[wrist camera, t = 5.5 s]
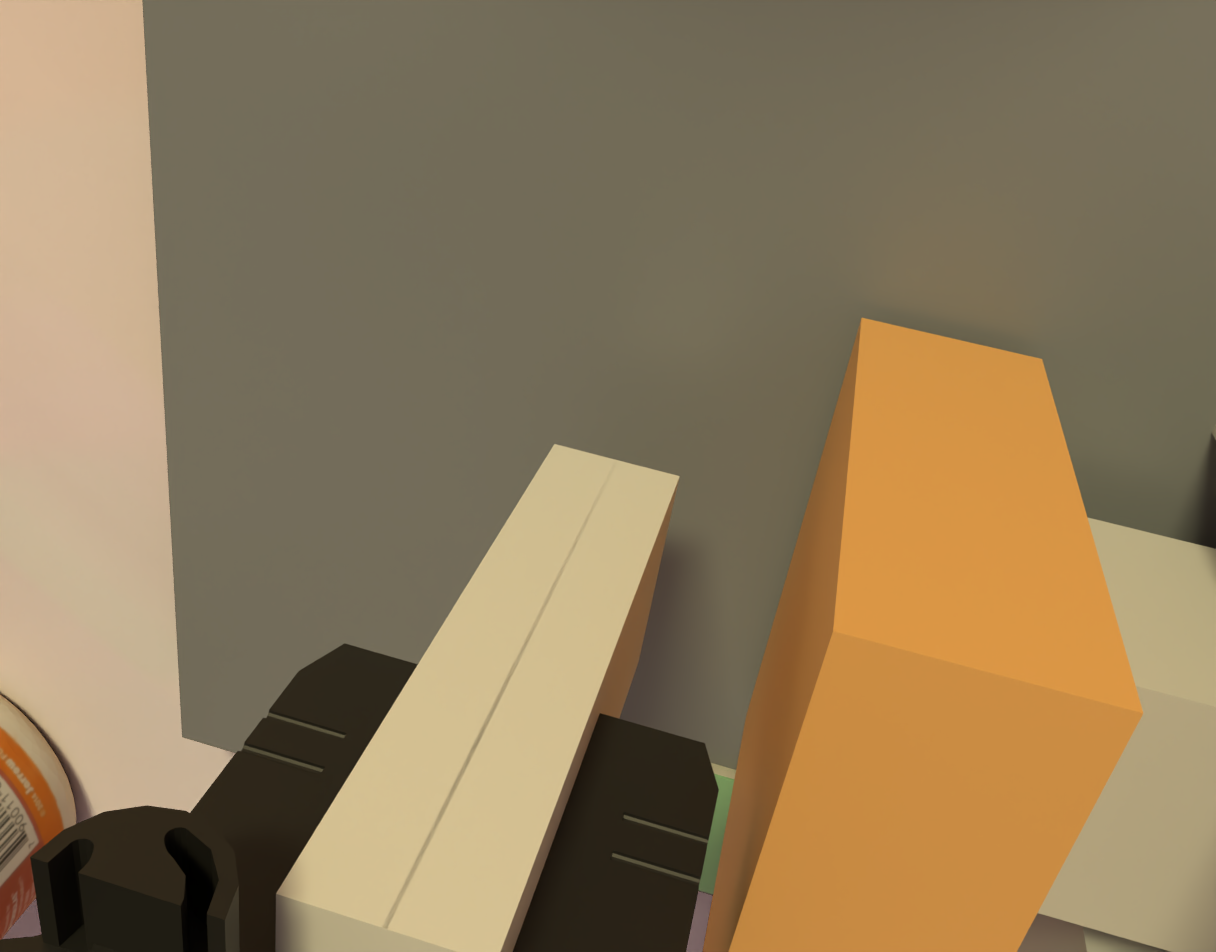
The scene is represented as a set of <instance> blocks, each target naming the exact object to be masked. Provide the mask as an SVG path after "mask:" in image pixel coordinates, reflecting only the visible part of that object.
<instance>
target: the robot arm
mask: <svg viewBox="0 0 1216 952" xmlns="http://www.w3.org/2000/svg"><path fill="white" fill-rule="evenodd" d="M679 477H680V476H677V475H673V474H669V473H665V472H662V471H658V470H654V469H650V468H646V467H642V466H638V465H634V464H630V463H626V462H623V461H619V460H615V459H611V458H607V457H603V456H599V455H596V454H592V453H588V452H584V451H580V450H576V449H572V448H568V447H564V446H561V445H557V444H554V445H553V447H552V449H551V450H550V452H549V454H548V455H547V457H546V458H545V460H544V462H543V463H542V465H541V466H540V468H539V470H538V471H537V473H536V475H535V476H534V478H533V479H532V481H531V483H530V484H529V486H528V487H527V489H526V491H525V492H524V494H523V496H522V497H521V499H520V500H519V502H518V504H517V505H516V507H515V508H514V510H513V512H512V513H511V515H510V517H509V518H508V520H507V521H506V523H505V525H504V526H503V528H502V529H501V531H500V533H499V534H498V536H497V538H496V539H495V541H494V542H493V544H492V546H491V547H490V549H489V550H488V552H487V554H486V555H485V557H484V559H483V560H482V562H481V563H480V565H479V567H478V568H477V570H476V571H475V573H474V575H473V576H472V578H471V580H470V581H469V583H468V584H467V586H466V588H465V589H464V591H463V592H462V594H461V596H460V597H459V599H458V601H457V602H456V604H455V605H454V607H453V609H452V610H451V612H450V613H449V615H448V617H447V618H446V620H445V622H444V623H443V625H442V626H441V628H440V630H439V631H438V633H437V634H436V636H435V638H434V639H433V641H432V643H431V644H430V646H429V647H428V649H427V651H426V652H425V654H424V655H423V657H422V659H421V660H420V662H419V664H415V663H412V662H408V661H405V660H401V659H398V658H394V657H391V656H387V655H384V654H380V653H377V652H373V651H370V650H366V649H363V648H359V647H356V646H352V645H349V644H345V643H344V644H343V645H341V646H339V647H338V648H336V649H334V650H333V651H331V652H329V653H328V654H326V655H324V656H323V657H321V658H319V659H318V660H316V661H314V662H313V663H311V664H309V665H308V666H306V667H304V668H303V669H301V670H299V671H298V673H297V674H296V675H295V676H294V678H293V679H292V680H291V682H290V683H289V684H288V686H287V687H286V688H285V690H284V691H283V692H282V694H281V695H280V696H279V697H278V699H277V700H276V701H275V703H274V704H273V705H272V707H271V708H270V709H269V713H268V716H267V717H266V718H262V720H261V721H260V722H259V724H258V725H257V726H256V728H255V729H254V730H253V731H252V733H251V734H250V735H249V737H248V738H247V739H246V741H245V742H244V746H243V749H242V750H241V751H237V752H236V754H235V755H234V756H233V758H232V759H231V760H230V762H229V763H228V764H227V766H226V767H225V768H224V769H223V771H222V772H221V773H220V775H219V776H218V777H217V779H216V780H215V781H214V783H213V784H212V785H211V786H210V788H209V789H208V790H207V792H206V793H205V794H204V796H203V797H202V798H201V800H200V801H199V802H198V803H197V805H196V806H195V807H194V809H193V810H192V811H191V813H189V812H187V811H182V810H175V809H168V808H161V807H153V806H141V807H134V808H127V809H121V810H114V811H107V812H103V813H101V814H98V815H96V816H94V817H91V818H89V819H87V820H85V821H82V822H80V823H78V824H75V825H73V826H71V827H68V828H66V829H64V830H63V831H61V832H60V833H59V834H58V835H56V836H55V837H54V838H53V839H52V840H50V841H49V842H48V843H47V844H45V845H44V846H43V847H42V848H41V849H39V850H38V851H37V852H36V853H34V854H33V855H32V856H31V857H30V860H31V867H32V873H33V880H34V886H35V893H36V900H37V906H38V913H39V919H40V926H41V932H42V935H38V936H34V937H24V938H13V939H2V940H0V952H686V948H687V943H688V938H689V934H690V929H691V924H692V919H693V914H694V909H695V904H696V899H697V894H698V890H699V883H700V879H701V875H702V870H703V865H704V860H705V855H706V850H707V844H708V840H709V836H710V831H711V826H712V821H713V816H714V811H715V806H716V802H717V797H718V792H719V789H718V785H717V782H716V779H715V775H714V772H713V769H712V765H711V762H710V759H709V755H708V752H707V749H706V745H705V743H703V742H699V741H696V740H692V739H689V738H685V737H682V736H678V735H675V734H671V733H668V732H664V731H661V730H657V729H654V728H650V727H647V726H643V725H640V724H636V723H633V722H629V721H626V720H622V719H619V718H620V715H621V712H622V709H623V706H624V703H625V700H626V697H627V694H628V691H629V688H630V685H631V682H632V679H633V676H634V674H635V671H636V668H637V665H638V662H639V657H640V653H641V648H642V644H643V639H644V635H645V630H646V626H647V621H648V617H649V612H650V608H651V603H652V599H653V594H654V590H655V585H656V581H657V576H658V572H659V567H660V562H661V558H662V553H663V549H664V544H665V540H666V535H667V531H668V526H669V522H670V517H671V513H672V508H673V504H674V499H675V495H676V490H677V486H678V481H679Z"/></svg>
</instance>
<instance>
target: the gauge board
mask: <svg viewBox="0 0 1216 952" xmlns="http://www.w3.org/2000/svg"><path fill="white" fill-rule="evenodd" d="M143 18H144V37H145V55H146V74H147V93H148V111H149V130H150V148H151V167H152V185H153V204H154V222H155V241H156V260H157V278H158V297H159V315H160V334H161V352H162V371H163V389H164V408H165V426H166V445H167V464H168V482H169V501H170V519H171V538H172V556H173V575H174V593H175V612H176V631H177V649H178V668H179V686H180V705H181V723H182V737H183V738H187V739H190V740H194V741H197V742H200V743H204V744H207V745H210V746H214V747H217V748H220V749H224V750H227V751H230V752H234V753H236V752H237V751H241V750H242V749H243V746H244V742H245V741H246V739H247V738H248V737H249V735H250V734H251V733H252V731H253V730H254V729H255V728H256V726H257V725H258V724H259V722H260V721H261V720H262V718H266V717H267V716H268V713H269V709H270V708H271V707H272V705H273V704H274V703H275V701H276V700H277V699H278V697H279V696H280V695H281V694H282V692H283V691H284V690H285V688H286V687H287V686H288V684H289V683H290V682H291V680H292V679H293V678H294V676H295V675H296V674H297V673H298V671H299V670H301V669H303V668H304V667H306V666H308V665H309V664H311V663H313V662H314V661H316V660H318V659H319V658H321V657H323V656H324V655H326V654H328V653H329V652H331V651H333V650H334V649H336V648H338V647H339V646H341V645H343V644H344V643H345V644H349V645H352V646H356V647H359V648H363V649H366V650H370V651H373V652H377V653H380V654H384V655H387V656H391V657H394V658H398V659H401V660H405V661H408V662H412V663H415V664H419V662H420V660H421V659H422V657H423V655H424V654H425V652H426V651H427V649H428V647H429V646H430V644H431V643H432V641H433V639H434V638H435V636H436V634H437V633H438V631H439V630H440V628H441V626H442V625H443V623H444V622H445V620H446V618H447V617H448V615H449V613H450V612H451V610H452V609H453V607H454V605H455V604H456V602H457V601H458V599H459V597H460V596H461V594H462V592H463V591H464V589H465V588H466V586H467V584H468V583H469V581H470V580H471V578H472V576H473V575H474V573H475V571H476V570H477V568H478V567H479V565H480V563H481V562H482V560H483V559H484V557H485V555H486V554H487V552H488V550H489V549H490V547H491V546H492V544H493V542H494V541H495V539H496V538H497V536H498V534H499V533H500V531H501V529H502V528H503V526H504V525H505V523H506V521H507V520H508V518H509V517H510V515H511V513H512V512H513V510H514V508H515V507H516V505H517V504H518V502H519V500H520V499H521V497H522V496H523V494H524V492H525V491H526V489H527V487H528V486H529V484H530V483H531V481H532V479H533V478H534V476H535V475H536V473H537V471H538V470H539V468H540V466H541V465H542V463H543V462H544V460H545V458H546V457H547V455H548V454H549V452H550V450H551V449H552V447H553V445H554V444H557V445H561V446H564V447H568V448H572V449H576V450H580V451H584V452H588V453H592V454H596V455H599V456H603V457H607V458H611V459H615V460H619V461H623V462H626V463H630V464H634V465H638V466H642V467H646V468H650V469H654V470H658V471H662V472H665V473H669V474H673V475H677V476H680V477H679V481H678V486H677V490H676V495H675V499H674V504H673V508H672V513H671V517H670V522H669V526H668V531H667V535H666V540H665V544H664V549H663V553H662V558H661V562H660V567H659V572H658V576H657V581H656V585H655V590H654V594H653V599H652V603H651V608H650V612H649V617H648V621H647V626H646V630H645V635H644V639H643V644H642V648H641V653H640V657H639V662H638V665H637V668H636V671H635V674H634V676H633V679H632V682H631V685H630V688H629V691H628V694H627V697H626V700H625V703H624V706H623V709H622V712H621V715H620V718H619V719H622V720H626V721H629V722H633V723H636V724H640V725H643V726H647V727H650V728H654V729H657V730H661V731H664V732H668V733H671V734H675V735H678V736H682V737H685V738H689V739H692V740H696V741H699V742H703V743H705V745H706V749H707V752H708V755H709V759H710V762H711V765H712V769H713V772H714V775H715V779H716V782H717V785H718V789H719V792H718V797H717V802H716V806H715V811H714V816H713V821H712V826H711V831H710V836H709V840H708V844H707V850H706V855H705V860H704V865H703V870H702V875H701V879H700V883H699V890H698V891H700V892H703V893H707V894H710V895H713V893H714V887H715V882H716V876H717V871H718V866H719V860H720V855H721V849H722V844H723V838H724V833H725V828H726V822H727V817H728V811H729V806H730V801H731V795H732V790H733V784H734V779H735V774H736V768H737V763H738V757H739V752H740V746H741V741H742V736H743V730H744V725H745V719H746V715H747V711H748V708H749V704H750V701H751V697H752V694H753V690H754V687H755V684H756V680H757V677H758V673H759V670H760V666H761V663H762V659H763V656H764V653H765V649H766V646H767V642H768V639H769V635H770V632H771V628H772V625H773V622H774V618H775V615H776V611H777V608H778V604H779V601H780V597H781V594H782V590H783V587H784V584H785V580H786V577H787V573H788V570H789V566H790V563H791V559H792V556H793V553H794V549H795V546H796V542H797V539H798V535H799V532H800V528H801V525H802V522H803V518H804V515H805V511H806V508H807V504H808V501H809V497H810V494H811V490H812V487H813V484H814V480H815V477H816V473H817V470H818V466H819V463H820V459H821V456H822V453H823V449H824V446H825V442H826V439H827V435H828V432H829V428H830V425H831V422H832V418H833V415H834V411H835V408H836V404H837V401H838V397H839V394H840V390H841V387H842V384H843V380H844V377H845V373H846V370H847V366H848V363H849V359H850V356H851V353H852V349H853V346H854V342H855V339H856V335H857V332H858V328H859V325H860V321H861V318H866V319H870V320H874V321H879V322H883V323H887V324H892V325H896V326H901V327H905V328H909V329H914V330H918V331H922V332H927V333H931V334H935V335H940V336H944V337H948V338H953V339H957V340H961V341H966V342H970V343H975V344H979V345H983V346H988V347H992V348H996V349H1001V350H1005V351H1009V352H1014V353H1018V354H1022V355H1027V356H1031V357H1035V358H1040V359H1042V360H1043V364H1044V367H1045V371H1046V374H1047V378H1048V381H1049V385H1050V388H1051V392H1052V395H1053V399H1054V402H1055V406H1056V409H1057V413H1058V416H1059V420H1060V423H1061V427H1062V430H1063V434H1064V437H1065V441H1066V444H1067V448H1068V451H1069V455H1070V458H1071V462H1072V465H1073V469H1074V472H1075V476H1076V479H1077V483H1078V486H1079V490H1080V493H1081V497H1082V500H1083V504H1084V507H1085V511H1086V514H1087V517H1088V518H1092V519H1096V520H1100V521H1104V522H1108V523H1112V524H1116V525H1120V526H1124V527H1129V528H1133V529H1137V530H1141V531H1145V532H1149V533H1153V534H1157V535H1161V536H1165V537H1169V538H1173V539H1177V540H1181V541H1186V542H1190V543H1194V544H1198V545H1202V546H1206V547H1210V548H1214V549H1216V0H143ZM1017 952H1171V951H1167V950H1164V949H1160V948H1157V947H1153V946H1150V945H1146V944H1143V943H1139V942H1136V941H1133V940H1129V939H1126V938H1122V937H1119V936H1115V935H1112V934H1108V933H1105V932H1101V931H1098V930H1095V929H1091V928H1088V927H1084V926H1081V925H1077V924H1074V923H1070V922H1067V921H1063V920H1060V919H1057V918H1053V917H1050V916H1046V915H1043V914H1039V913H1037V915H1036V917H1035V919H1034V920H1033V922H1032V924H1031V926H1030V928H1029V930H1028V932H1027V934H1026V936H1025V937H1024V939H1023V941H1022V943H1021V945H1020V947H1019V949H1018V951H1017Z"/></svg>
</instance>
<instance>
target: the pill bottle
mask: <svg viewBox="0 0 1216 952" xmlns="http://www.w3.org/2000/svg"><path fill="white" fill-rule="evenodd" d="M75 824H76V809H75V803H74V797H73V794H72V790H71V787H70V784H69V781H68V778H67V776H66V774H65V772H64V770H63V768H62V766H61V764H60V762H59V760H58V758H57V756H56V755H55V753H54V752H53V750H52V749H51V747H50V746H49V744H48V743H47V741H46V740H45V738H44V737H43V736H42V735H41V733H40V732H39V731H38V730H37V728H36V727H35V726H34V725H33V724H32V723H31V722H30V721H29V720H28V719H27V717H26V716H25V715H24V714H23V713H22V712H21V711H20V710H19V709H17V708H16V707H15V706H14V705H13V704H12V703H10V702H9V701H8V700H7V699H5V698H4V697H3V696H1V695H0V940H1V939H2V938H3V937H4V935H5V934H6V933H7V932H8V931H9V929H10V928H11V927H12V926H13V924H14V923H15V922H16V921H17V920H18V919H19V917H20V916H21V915H22V914H23V913H24V911H25V910H26V909H27V908H28V906H29V905H30V904H31V903H32V902H33V901H34V899H35V898H36V893H35V886H34V880H33V873H32V867H31V860H30V857H31V856H32V855H33V854H34V853H36V852H37V851H38V850H39V849H41V848H42V847H43V846H44V845H45V844H47V843H48V842H49V841H50V840H52V839H53V838H54V837H55V836H56V835H58V834H59V833H60V832H61V831H63V830H64V829H66V828H68V827H71V826H73V825H75Z"/></svg>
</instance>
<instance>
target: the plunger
mask: <svg viewBox="0 0 1216 952" xmlns="http://www.w3.org/2000/svg"><path fill="white" fill-rule="evenodd" d="M1037 913H1039V914H1043V915H1046V916H1050V917H1053V918H1057V919H1060V920H1063V921H1067V922H1070V923H1074V924H1077V925H1081V926H1084V927H1088V928H1091V929H1095V930H1098V931H1101V932H1105V933H1108V934H1112V935H1115V936H1119V937H1122V938H1126V939H1129V940H1133V941H1136V942H1139V943H1143V944H1146V945H1150V946H1153V947H1157V948H1160V949H1164V950H1167V951H1171V952H1216V549H1214V548H1210V547H1206V546H1202V545H1198V544H1194V543H1190V542H1186V541H1181V540H1177V539H1173V538H1169V537H1165V536H1161V535H1157V534H1153V533H1149V532H1145V531H1141V530H1137V529H1133V528H1129V527H1124V526H1120V525H1116V524H1112V523H1108V522H1104V521H1100V520H1096V519H1092V518H1088V517H1087V514H1086V511H1085V507H1084V504H1083V500H1082V497H1081V493H1080V490H1079V486H1078V483H1077V479H1076V476H1075V472H1074V469H1073V465H1072V462H1071V458H1070V455H1069V451H1068V448H1067V444H1066V441H1065V437H1064V434H1063V430H1062V427H1061V423H1060V420H1059V416H1058V413H1057V409H1056V406H1055V402H1054V399H1053V395H1052V392H1051V388H1050V385H1049V381H1048V378H1047V374H1046V371H1045V367H1044V364H1043V360H1042V359H1040V358H1035V357H1031V356H1027V355H1022V354H1018V353H1014V352H1009V351H1005V350H1001V349H996V348H992V347H988V346H983V345H979V344H975V343H970V342H966V341H961V340H957V339H953V338H948V337H944V336H940V335H935V334H931V333H927V332H922V331H918V330H914V329H909V328H905V327H901V326H896V325H892V324H887V323H883V322H879V321H874V320H870V319H866V318H861V321H860V325H859V328H858V332H857V335H856V339H855V342H854V346H853V349H852V353H851V356H850V359H849V363H848V366H847V370H846V373H845V377H844V380H843V384H842V387H841V390H840V394H839V397H838V401H837V404H836V408H835V411H834V415H833V418H832V422H831V425H830V428H829V432H828V435H827V439H826V442H825V446H824V449H823V453H822V456H821V459H820V463H819V466H818V470H817V473H816V477H815V480H814V484H813V487H812V490H811V494H810V497H809V501H808V504H807V508H806V511H805V515H804V518H803V522H802V525H801V528H800V532H799V535H798V539H797V542H796V546H795V549H794V553H793V556H792V559H791V563H790V566H789V570H788V573H787V577H786V580H785V584H784V587H783V590H782V594H781V597H780V601H779V604H778V608H777V611H776V615H775V618H774V622H773V625H772V628H771V632H770V635H769V639H768V642H767V646H766V649H765V653H764V656H763V659H762V663H761V666H760V670H759V673H758V677H757V680H756V684H755V687H754V690H753V694H752V697H751V701H750V704H749V708H748V711H747V715H746V719H745V725H744V730H743V736H742V741H741V746H740V752H739V757H738V763H737V768H736V774H735V779H734V784H733V790H732V795H731V801H730V806H729V811H728V817H727V822H726V828H725V833H724V838H723V844H722V849H721V855H720V860H719V866H718V871H717V876H716V882H715V887H714V893H713V898H712V903H711V909H710V914H709V920H708V925H707V930H706V936H705V941H704V947H703V952H1017V951H1018V949H1019V947H1020V945H1021V943H1022V941H1023V939H1024V937H1025V936H1026V934H1027V932H1028V930H1029V928H1030V926H1031V924H1032V922H1033V920H1034V919H1035V917H1036V915H1037Z"/></svg>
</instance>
